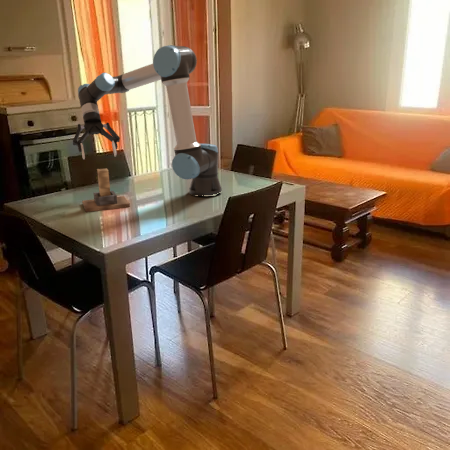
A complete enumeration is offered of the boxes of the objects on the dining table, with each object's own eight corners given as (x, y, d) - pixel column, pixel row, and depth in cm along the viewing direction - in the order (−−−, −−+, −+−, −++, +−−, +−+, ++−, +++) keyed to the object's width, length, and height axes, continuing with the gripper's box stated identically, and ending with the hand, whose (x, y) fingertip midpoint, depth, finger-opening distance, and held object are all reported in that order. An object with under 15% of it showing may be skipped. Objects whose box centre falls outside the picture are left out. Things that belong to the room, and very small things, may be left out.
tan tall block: (109, 200, 197) (106, 168, 192) (111, 202, 194) (108, 170, 189) (100, 201, 196) (97, 169, 191) (101, 203, 192) (98, 171, 187)
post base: (124, 199, 204) (123, 188, 202) (129, 206, 193) (128, 195, 192) (82, 203, 197) (81, 192, 195) (85, 212, 187) (84, 200, 185)
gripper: (118, 119, 214) (127, 158, 207) (62, 122, 205) (70, 163, 198) (119, 109, 207) (129, 149, 200) (62, 112, 198) (70, 154, 191)
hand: (100, 156), depth 199 cm, fingers open, 13 cm apart
